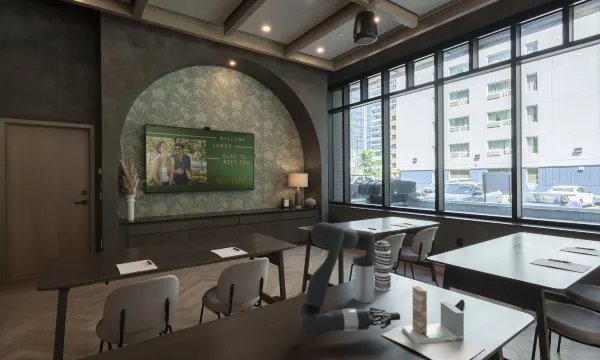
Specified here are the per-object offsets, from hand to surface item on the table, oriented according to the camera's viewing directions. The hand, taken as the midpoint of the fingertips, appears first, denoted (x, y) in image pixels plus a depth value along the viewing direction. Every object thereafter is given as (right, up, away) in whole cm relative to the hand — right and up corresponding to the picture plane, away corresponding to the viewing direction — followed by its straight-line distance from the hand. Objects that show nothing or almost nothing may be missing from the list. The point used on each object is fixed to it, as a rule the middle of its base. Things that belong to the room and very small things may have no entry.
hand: (399, 316), depth 119 cm
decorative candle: (+7, -7, +51) cm, 52 cm away
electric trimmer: (+33, -8, +23) cm, 41 cm away
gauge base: (+13, -8, +2) cm, 15 cm away
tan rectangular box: (+8, -6, -1) cm, 10 cm away
